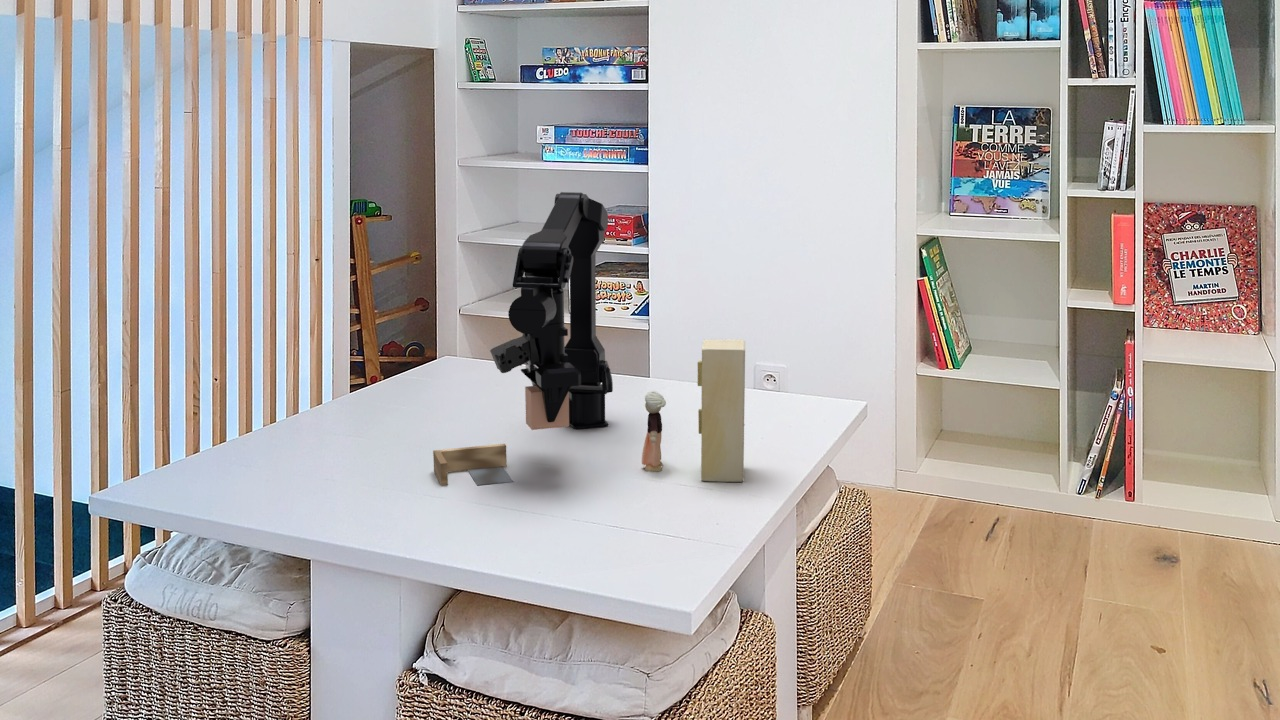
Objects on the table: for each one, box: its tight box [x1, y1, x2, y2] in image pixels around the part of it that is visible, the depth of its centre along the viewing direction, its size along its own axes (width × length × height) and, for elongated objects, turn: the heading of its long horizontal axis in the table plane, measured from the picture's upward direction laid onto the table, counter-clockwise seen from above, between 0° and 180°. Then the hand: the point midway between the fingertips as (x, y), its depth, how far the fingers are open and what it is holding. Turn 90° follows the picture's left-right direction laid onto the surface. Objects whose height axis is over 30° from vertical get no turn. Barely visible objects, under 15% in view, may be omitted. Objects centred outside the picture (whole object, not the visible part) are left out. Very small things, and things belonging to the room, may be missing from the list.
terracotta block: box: [524, 385, 570, 431], centre depth 185 cm, size 6×4×6 cm, turn 109°
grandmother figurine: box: [641, 390, 667, 473], centre depth 187 cm, size 8×4×13 cm, turn 5°
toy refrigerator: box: [697, 338, 746, 483], centre depth 183 cm, size 8×7×21 cm
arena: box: [432, 443, 514, 487], centre depth 184 cm, size 12×9×4 cm
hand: (547, 418), depth 186 cm, fingers closed on terracotta block, 4 cm apart
